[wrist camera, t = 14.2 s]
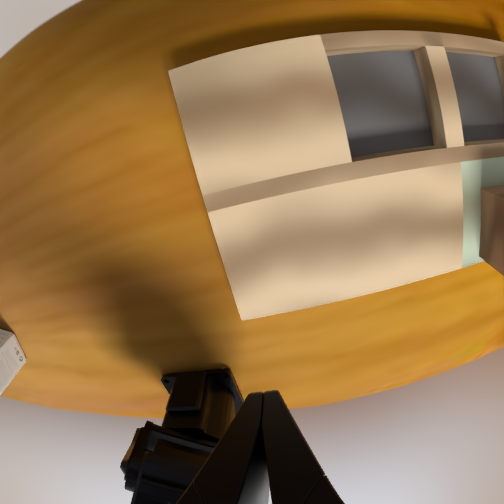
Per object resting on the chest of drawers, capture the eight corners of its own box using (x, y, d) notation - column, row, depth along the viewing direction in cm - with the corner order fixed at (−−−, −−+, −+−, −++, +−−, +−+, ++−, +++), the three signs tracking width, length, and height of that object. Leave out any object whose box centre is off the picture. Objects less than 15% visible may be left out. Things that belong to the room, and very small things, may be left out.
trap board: (521, 234, 18) (546, 249, 15) (243, 304, 22) (240, 334, 18) (504, 48, 13) (531, 43, 9) (177, 76, 16) (159, 66, 13)
